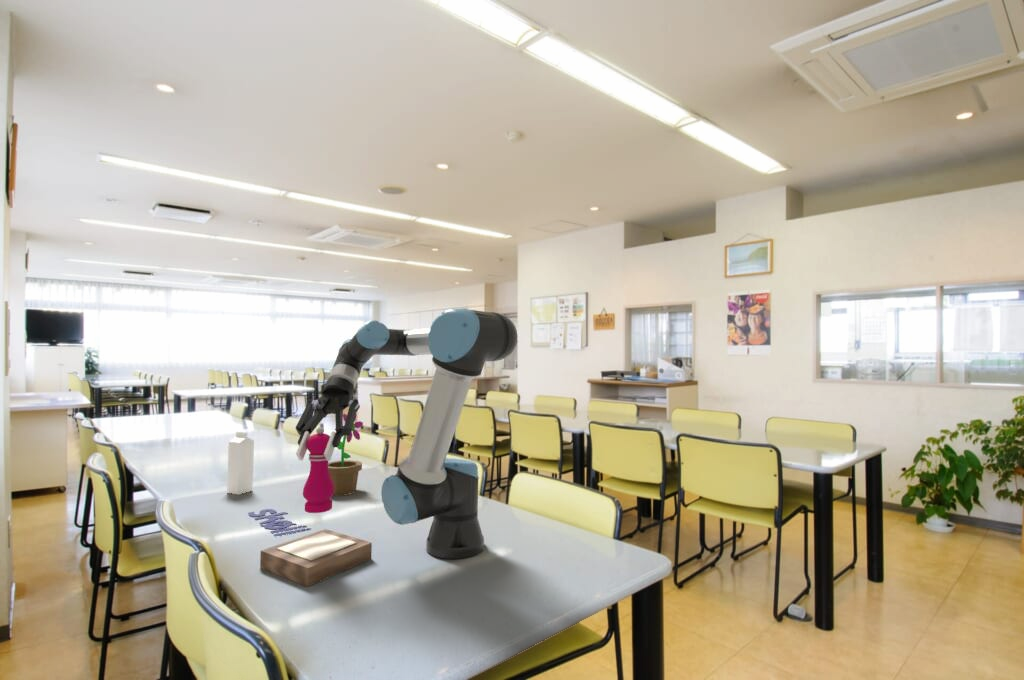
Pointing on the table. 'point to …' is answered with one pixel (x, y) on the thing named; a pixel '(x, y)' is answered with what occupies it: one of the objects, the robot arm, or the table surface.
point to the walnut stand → (315, 556)
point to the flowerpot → (345, 466)
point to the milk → (240, 464)
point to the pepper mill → (318, 475)
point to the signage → (276, 522)
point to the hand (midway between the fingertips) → (313, 457)
